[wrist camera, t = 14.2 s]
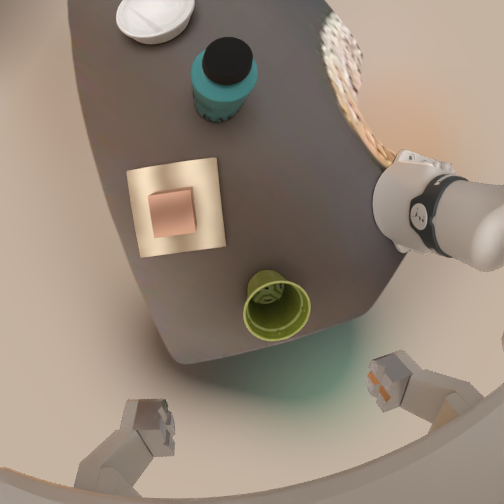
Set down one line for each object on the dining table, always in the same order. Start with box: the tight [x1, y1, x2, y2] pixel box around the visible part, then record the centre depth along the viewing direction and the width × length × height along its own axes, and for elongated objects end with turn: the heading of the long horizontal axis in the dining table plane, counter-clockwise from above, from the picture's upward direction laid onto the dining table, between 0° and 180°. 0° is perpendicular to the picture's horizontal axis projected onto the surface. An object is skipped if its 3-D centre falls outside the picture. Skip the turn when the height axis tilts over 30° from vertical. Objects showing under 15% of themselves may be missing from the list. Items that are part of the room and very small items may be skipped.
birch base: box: [127, 157, 226, 258], centre depth 38 cm, size 12×12×4 cm
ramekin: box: [116, 0, 195, 44], centre depth 28 cm, size 11×11×5 cm
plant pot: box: [243, 270, 311, 341], centre depth 42 cm, size 9×9×9 cm
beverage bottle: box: [191, 37, 258, 123], centre depth 27 cm, size 6×7×20 cm
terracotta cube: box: [148, 186, 197, 238], centre depth 34 cm, size 5×5×5 cm
